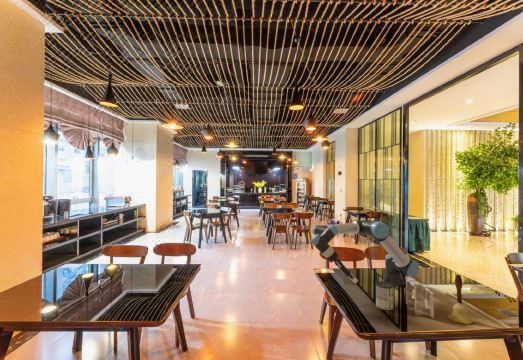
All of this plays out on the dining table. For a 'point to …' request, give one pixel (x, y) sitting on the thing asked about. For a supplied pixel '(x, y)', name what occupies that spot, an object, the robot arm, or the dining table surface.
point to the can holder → (419, 297)
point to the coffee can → (384, 295)
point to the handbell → (459, 306)
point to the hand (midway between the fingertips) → (356, 281)
